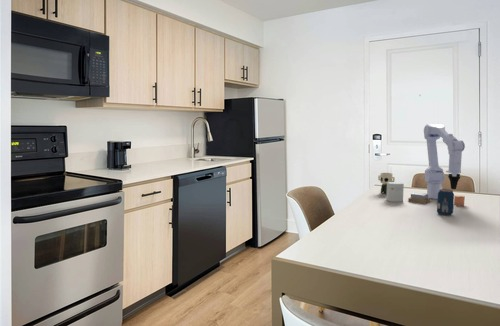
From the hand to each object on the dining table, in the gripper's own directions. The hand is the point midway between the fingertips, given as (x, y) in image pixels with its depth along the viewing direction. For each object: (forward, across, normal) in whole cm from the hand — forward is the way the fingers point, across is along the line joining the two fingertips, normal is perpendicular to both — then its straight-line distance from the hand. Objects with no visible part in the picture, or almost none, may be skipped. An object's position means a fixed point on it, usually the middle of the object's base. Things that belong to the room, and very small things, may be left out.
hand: (453, 187), depth 193 cm
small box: (+10, +3, -29) cm, 31 cm away
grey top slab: (+8, -2, -17) cm, 19 cm away
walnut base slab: (+10, -2, -17) cm, 20 cm away
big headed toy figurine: (+10, -17, -37) cm, 42 cm away
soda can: (+10, +25, -3) cm, 27 cm away
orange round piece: (+10, -2, +3) cm, 10 cm away
